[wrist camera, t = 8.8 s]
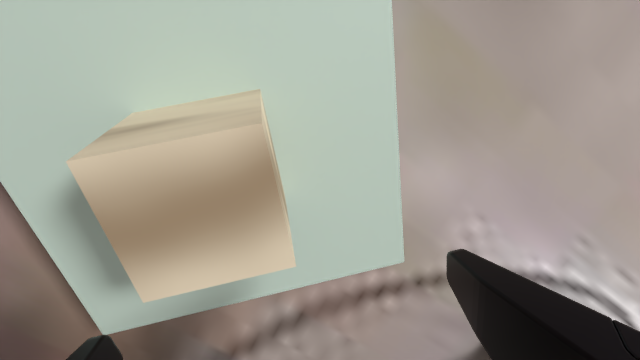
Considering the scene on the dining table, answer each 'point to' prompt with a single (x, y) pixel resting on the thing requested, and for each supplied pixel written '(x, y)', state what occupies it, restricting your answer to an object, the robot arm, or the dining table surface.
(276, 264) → the maple cube
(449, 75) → the dining table surface
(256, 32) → the platform
